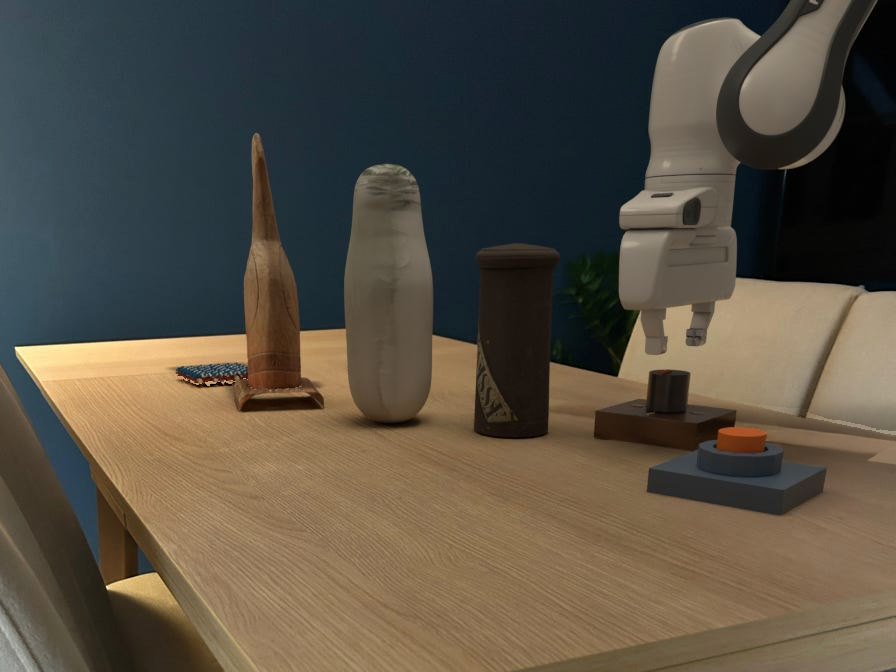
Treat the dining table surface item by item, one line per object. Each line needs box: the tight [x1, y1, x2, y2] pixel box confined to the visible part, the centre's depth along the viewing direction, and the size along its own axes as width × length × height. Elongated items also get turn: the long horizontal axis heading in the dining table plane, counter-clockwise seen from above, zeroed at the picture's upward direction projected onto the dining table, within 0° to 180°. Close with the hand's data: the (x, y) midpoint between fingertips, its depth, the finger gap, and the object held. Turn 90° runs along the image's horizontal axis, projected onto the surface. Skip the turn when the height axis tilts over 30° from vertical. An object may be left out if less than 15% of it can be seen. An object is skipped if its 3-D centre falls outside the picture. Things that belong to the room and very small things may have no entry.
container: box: [473, 242, 561, 438], centre depth 107 cm, size 9×9×20 cm
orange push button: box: [716, 426, 768, 453], centre depth 84 cm, size 4×4×2 cm
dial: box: [646, 368, 692, 413], centre depth 106 cm, size 4×4×4 cm
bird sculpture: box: [232, 132, 325, 411], centre depth 123 cm, size 11×12×32 cm
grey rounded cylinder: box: [343, 163, 434, 424], centre depth 112 cm, size 10×10×28 cm
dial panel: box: [593, 398, 738, 452], centre depth 107 cm, size 12×10×3 cm
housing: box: [646, 440, 828, 516], centre depth 85 cm, size 12×10×4 cm
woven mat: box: [175, 361, 248, 384], centre depth 147 cm, size 10×11×2 cm
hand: (676, 350), depth 104 cm, fingers open, 8 cm apart
